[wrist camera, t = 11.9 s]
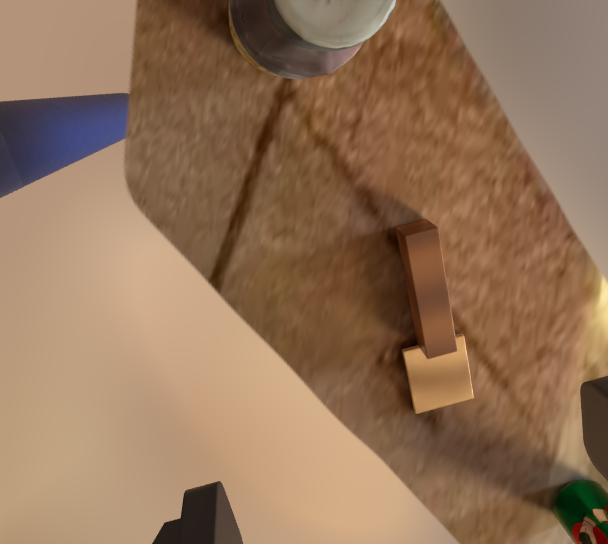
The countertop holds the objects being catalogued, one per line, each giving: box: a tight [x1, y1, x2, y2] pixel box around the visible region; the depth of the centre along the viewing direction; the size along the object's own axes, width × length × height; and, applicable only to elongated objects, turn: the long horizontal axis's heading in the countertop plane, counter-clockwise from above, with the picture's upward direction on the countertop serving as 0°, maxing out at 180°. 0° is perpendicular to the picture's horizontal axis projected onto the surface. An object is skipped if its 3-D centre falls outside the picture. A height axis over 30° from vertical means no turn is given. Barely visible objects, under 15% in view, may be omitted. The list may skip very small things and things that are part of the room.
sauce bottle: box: [228, 0, 396, 79], centre depth 25 cm, size 7×6×20 cm
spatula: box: [395, 219, 473, 414], centre depth 41 cm, size 16×5×2 cm, turn 13°
